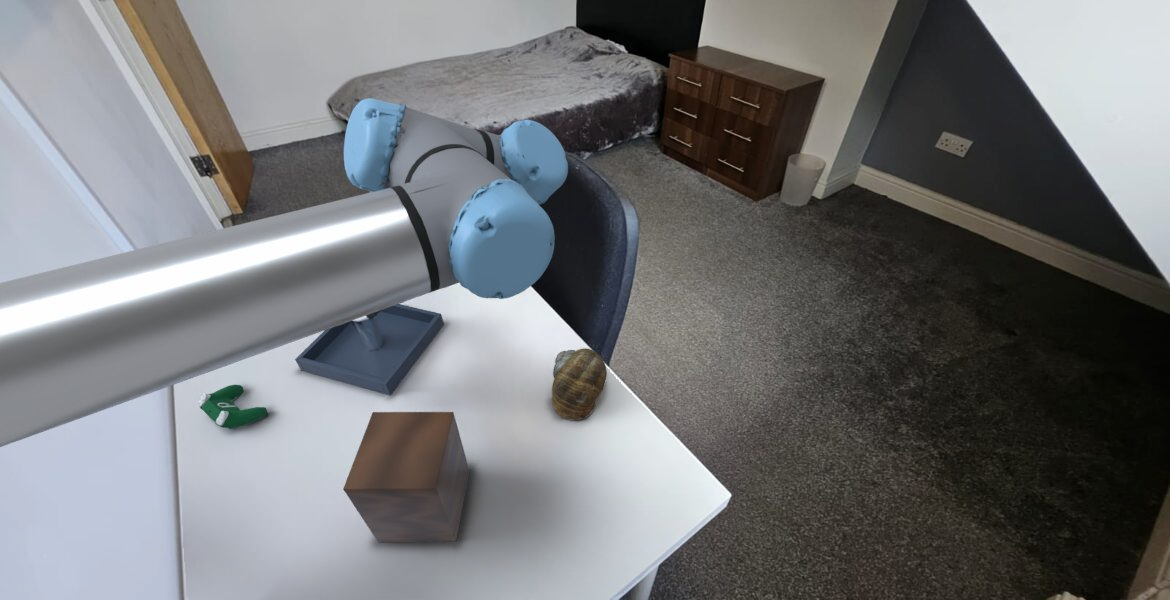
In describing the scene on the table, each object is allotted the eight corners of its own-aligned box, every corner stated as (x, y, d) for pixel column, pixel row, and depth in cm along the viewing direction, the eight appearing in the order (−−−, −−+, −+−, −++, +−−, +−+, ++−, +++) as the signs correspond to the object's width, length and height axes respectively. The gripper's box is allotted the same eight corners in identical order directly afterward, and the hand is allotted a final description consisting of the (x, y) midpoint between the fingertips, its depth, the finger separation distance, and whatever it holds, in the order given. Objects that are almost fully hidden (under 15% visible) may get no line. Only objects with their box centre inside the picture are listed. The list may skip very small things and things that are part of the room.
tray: (301, 370, 81) (294, 359, 79) (365, 305, 94) (360, 294, 92) (390, 395, 77) (385, 384, 75) (444, 324, 90) (441, 313, 88)
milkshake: (371, 359, 83) (354, 318, 76) (356, 344, 85) (338, 303, 79) (395, 345, 85) (380, 304, 79) (379, 331, 88) (364, 290, 81)
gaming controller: (232, 403, 78) (190, 405, 72) (241, 382, 77) (200, 383, 72) (262, 431, 74) (220, 436, 68) (271, 409, 74) (230, 412, 68)
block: (377, 542, 60) (342, 489, 51) (399, 469, 68) (372, 411, 58) (456, 541, 60) (435, 488, 51) (469, 469, 68) (453, 411, 59)
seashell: (567, 360, 84) (567, 328, 79) (615, 379, 81) (619, 347, 76) (535, 407, 76) (533, 375, 71) (587, 430, 73) (588, 398, 68)
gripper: (420, 307, 48) (354, 357, 62) (539, 198, 65) (465, 258, 79) (366, 251, 46) (310, 316, 60) (502, 154, 63) (434, 223, 78)
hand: (398, 283), depth 70 cm, fingers open, 13 cm apart
